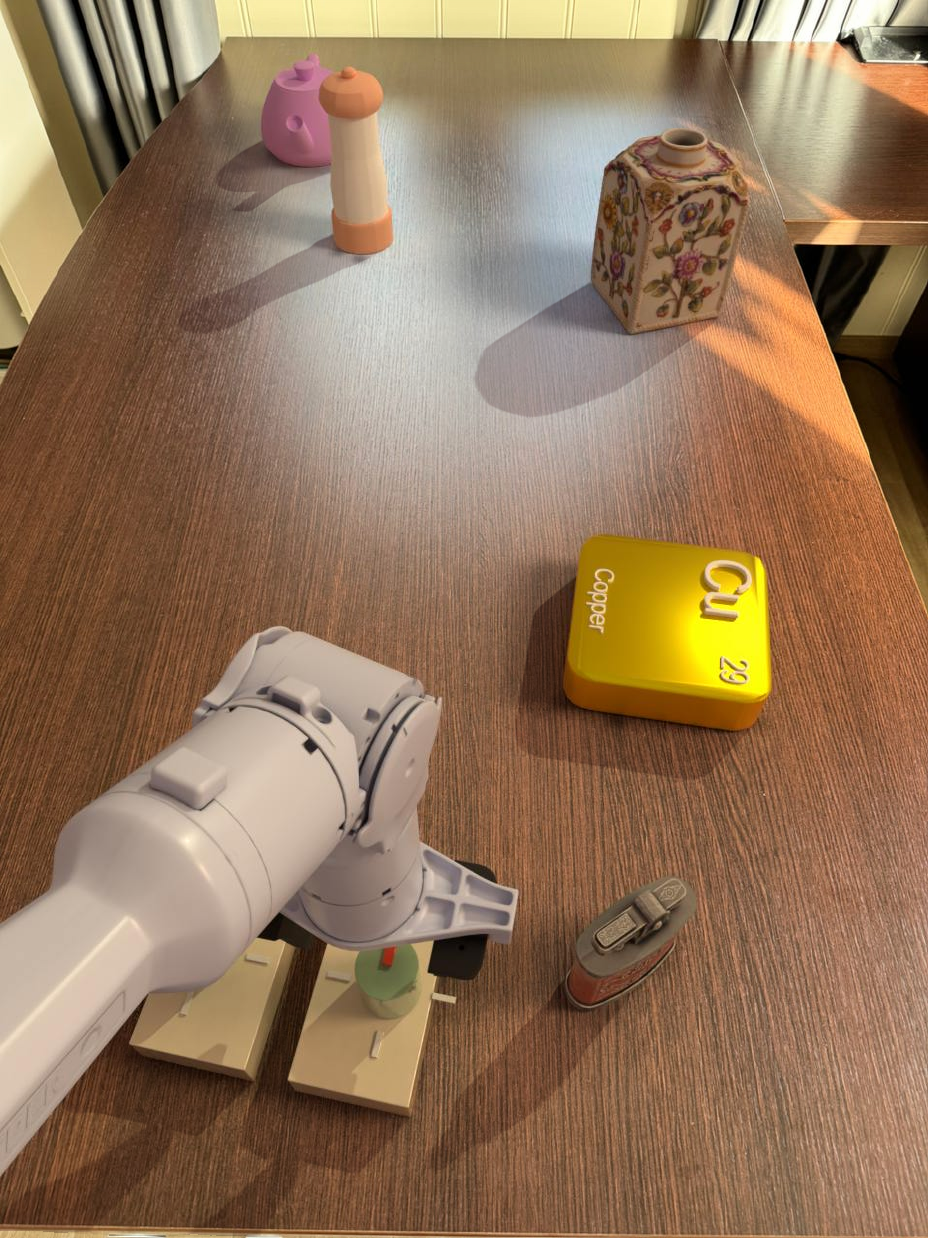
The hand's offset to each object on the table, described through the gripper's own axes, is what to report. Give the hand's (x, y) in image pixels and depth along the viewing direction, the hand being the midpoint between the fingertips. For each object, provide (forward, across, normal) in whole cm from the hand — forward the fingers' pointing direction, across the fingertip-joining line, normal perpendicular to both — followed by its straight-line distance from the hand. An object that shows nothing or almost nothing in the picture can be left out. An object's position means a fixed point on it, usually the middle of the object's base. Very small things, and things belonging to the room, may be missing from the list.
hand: (376, 944), depth 49 cm
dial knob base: (+9, 0, 0) cm, 9 cm away
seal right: (+6, -1, +1) cm, 6 cm away
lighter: (+9, -14, -4) cm, 17 cm away
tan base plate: (+9, +10, 0) cm, 13 cm away
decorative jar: (+9, -11, -79) cm, 81 cm away
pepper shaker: (+9, +25, -86) cm, 89 cm away
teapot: (+9, +38, -107) cm, 113 cm away
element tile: (+9, -15, -30) cm, 35 cm away
